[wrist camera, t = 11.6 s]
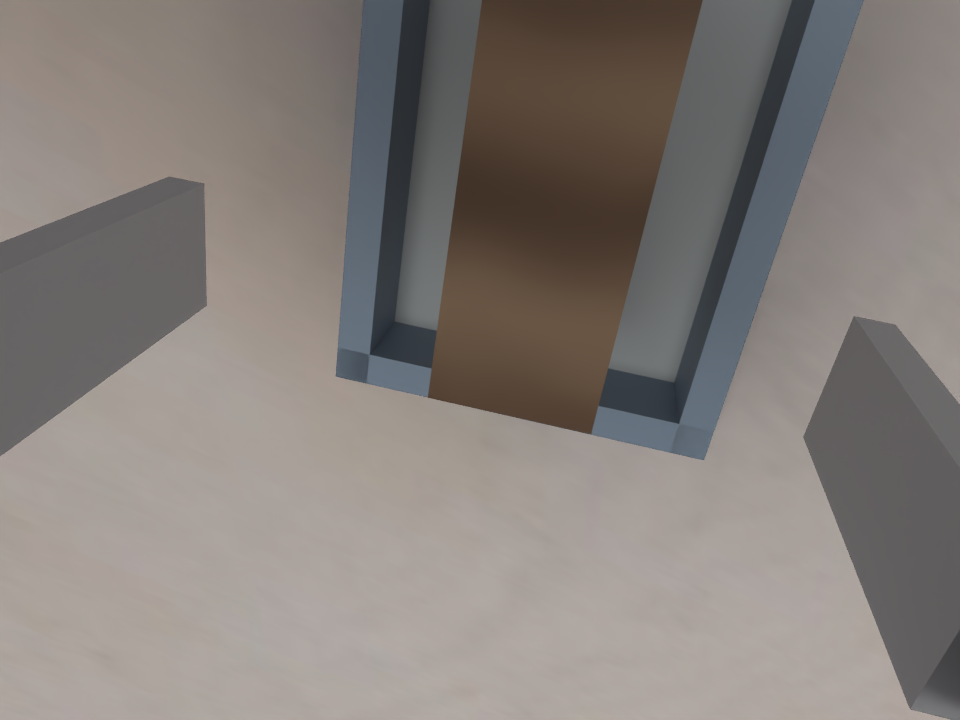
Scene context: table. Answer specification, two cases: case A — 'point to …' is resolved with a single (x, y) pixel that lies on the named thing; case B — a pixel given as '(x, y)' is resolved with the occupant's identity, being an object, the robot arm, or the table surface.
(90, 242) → the robot arm
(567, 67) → the brown wooden bar
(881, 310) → the table surface
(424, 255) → the peg frame
